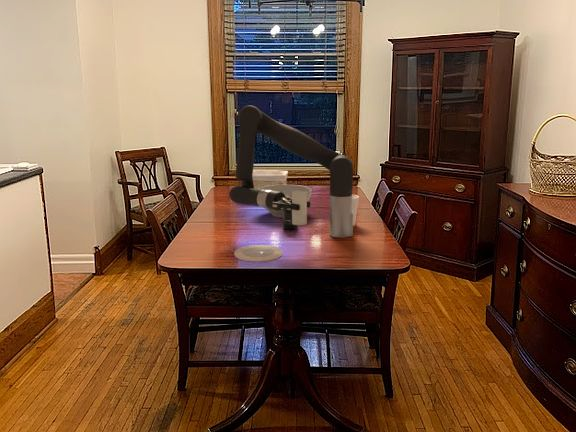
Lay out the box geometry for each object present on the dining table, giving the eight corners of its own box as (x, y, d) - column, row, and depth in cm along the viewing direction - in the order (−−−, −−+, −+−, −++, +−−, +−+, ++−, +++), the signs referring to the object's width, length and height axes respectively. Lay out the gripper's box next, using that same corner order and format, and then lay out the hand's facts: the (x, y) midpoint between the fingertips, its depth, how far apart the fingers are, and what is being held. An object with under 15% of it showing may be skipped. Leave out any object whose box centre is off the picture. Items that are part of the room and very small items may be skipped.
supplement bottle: (285, 231, 238) (284, 204, 235) (281, 227, 245) (280, 201, 242) (300, 230, 240) (300, 203, 237) (296, 226, 246) (295, 200, 243)
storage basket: (288, 195, 310) (288, 169, 307) (285, 202, 295) (285, 174, 291) (246, 195, 313) (245, 169, 309) (241, 201, 297) (240, 174, 293)
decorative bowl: (313, 208, 280) (313, 184, 277) (310, 221, 254) (310, 195, 251) (260, 207, 283) (260, 184, 280) (252, 220, 257) (251, 195, 254)
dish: (280, 246, 218) (280, 244, 217) (283, 260, 200) (283, 258, 200) (234, 247, 216) (234, 245, 216) (234, 262, 199) (233, 260, 199)
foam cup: (345, 221, 254) (345, 193, 251) (362, 224, 249) (362, 195, 245) (333, 225, 247) (333, 196, 244) (350, 228, 242) (351, 199, 238)
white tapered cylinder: (305, 221, 212) (306, 190, 209) (307, 224, 207) (307, 193, 204) (291, 221, 212) (291, 190, 209) (292, 225, 207) (292, 194, 204)
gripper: (258, 193, 211) (292, 199, 200) (283, 187, 221) (316, 193, 211) (258, 212, 213) (292, 219, 202) (283, 205, 223) (316, 212, 212)
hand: (304, 206), depth 206 cm, fingers closed on white tapered cylinder, 5 cm apart
